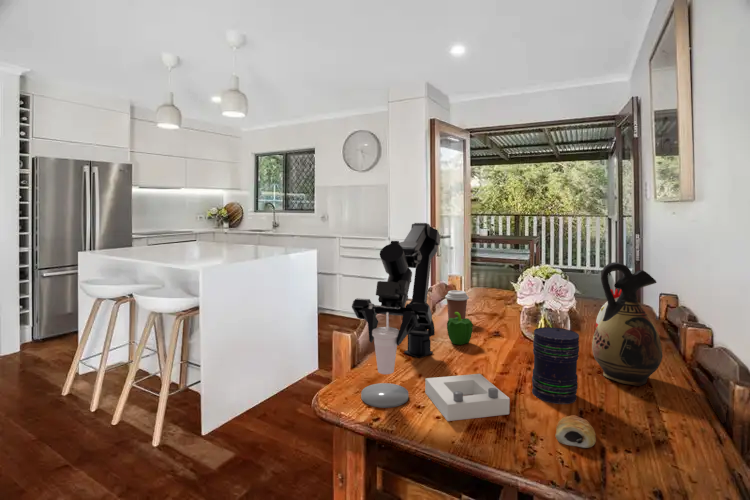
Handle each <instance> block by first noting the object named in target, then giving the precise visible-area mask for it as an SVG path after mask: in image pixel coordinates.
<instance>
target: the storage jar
mask: <svg viewBox="0 0 750 500" xmlns="http://www.w3.org/2000/svg"><path fill="white" fill-rule="evenodd" d="M533 335H534V336H533V341H532V342H533V343H532V344H533V345H532V346H533V348H532V355H534V357H533V369H532V376H531V382H532V389H531V393H532V395H533V396H534V397H535V396H536V397H535V398H537V399H538V398H539V399H538V400H540V399H541V401H543V402H546V403H549V404H550V403H551V404H556V405H569V404H573V403H575V402H576V401H577V397H578V396H577V393H578V383H579V382H578V375H577V371H578V370H577V369H578V365H577V364H578V360H579V356H580V355H579V352H580V345H579V344H580V341H579V340H580V334H579V333H578V332H576V331H574V330H572V329H571V330H570V329H567V328H566V329H565V328H560V327H554V326H553V327H552V326H551V327H550V326H547V327H538V328H535V329H534V330H533Z"/></svg>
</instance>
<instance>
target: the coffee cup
mask: <svg viewBox="0 0 750 500" xmlns="http://www.w3.org/2000/svg"><path fill="white" fill-rule="evenodd" d="M444 298H445V299H446V304H447V306H446V307H447V318H448V319H447V321H448V320H449V318H456V317H458V315H455V312H458V313H460V315H461V319H465V318H466V315H467V305H468V300H469V299H470V297H469V295H468V294H467V292H466V291H465V290H459V289H458V290H455V289H453V290H449V291H447V294H446V295H445V296H444Z"/></svg>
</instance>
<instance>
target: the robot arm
mask: <svg viewBox="0 0 750 500" xmlns="http://www.w3.org/2000/svg"><path fill="white" fill-rule="evenodd" d="M440 235H441V234H440V232H439V231H438V229H436V228H434V227H433V226H431V225H430V224H429V223H427V222H414V223H412V224H411V229H410V230H409V232H408V233H407V235H406V237H405V238H404V240H403V241H399V240H391V241H390V243H388V244H386V245H385V246H383V247H382V248H381V249H380V251H379V257H380V258H379V259H380V260H381V263H382V265H383V268H384V270H385V273H386V274H387V275H388V278H387V281H384V280H382V281H381V280H379V281H377V282H376V289H375V290H376V291H375V296H377V297H378V302H379V303H381V304H380V305H377V304H374V303H372V301H371V298H359V297H358V298H355V299H354V300H353V301H352V304H351V308H352V310H353V312H354V314H355V316H356V318H357V319H359V320H365V322H366V323H367V327H368V341H369V343H373V342H374V337H373V336H372V330H373V329H375V328H378V324H379V320H378V317H377V314H379V315H386V312H389V316H400V317H401V316H402V320H401V323H400V324H401V325H400V327H399V329H398V330H399V334H398V337H397V343H396V344H397V346H400V345H401V344H402V342H404V340H405V339H406V337H407V350H404V351H403V353H404V354H406V355H409V356H411V357H412V356H413V357H415V358H418V359H420V358H423V357H426V356H429V355H432V354H434V351H432V350H431V346H432V345H431V343H432V342H431V339H430V338H431V337H434V336H435V333H436V331H435V330H436V329H435V324H434V321H433V313H432V311H431V306H430V305H429V303H428V302H427V301H428V293H429V292H428V291H429V286H430V274H431V273H430V272H431V266H432V259H433V258H434V256H435V255H436V254H437V252H438V249H439V246H440V244H441V236H440ZM411 269H415V271H414V282H413V289H412V298H411V301H410V302H409V303H407V301H408V300H409V295H408V294H409V289H410V286H411V283H412V277H413V271H412V270H411Z"/></svg>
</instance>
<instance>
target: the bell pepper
mask: <svg viewBox="0 0 750 500" xmlns="http://www.w3.org/2000/svg"><path fill="white" fill-rule="evenodd" d="M455 315H458V317H456V318H449V320H448V319H447V323H446V330H447V335H448V339H449V341H450V343H452V345H453V344H454V345H464V344H469V342H470V341H471V338H472V334H473V329H474V327H473V325H474V324H473V322H472V321H471V319H469V318H468V317H467V318H466V317H465V319H461V315H460V313H458V312H455Z"/></svg>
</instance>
